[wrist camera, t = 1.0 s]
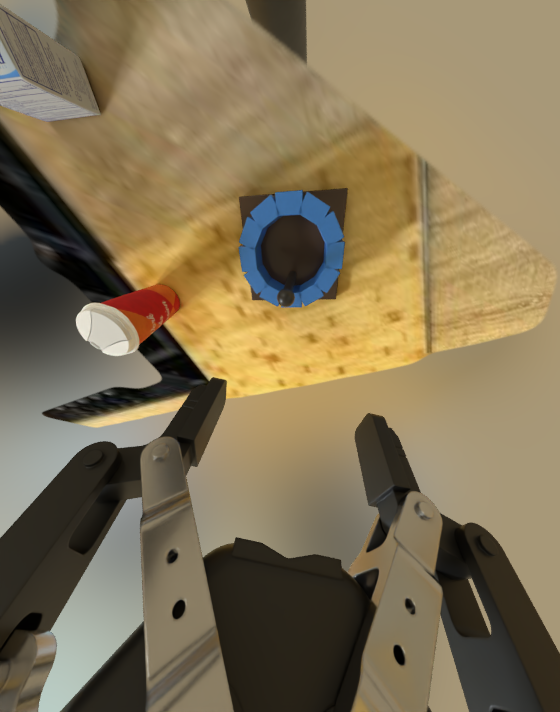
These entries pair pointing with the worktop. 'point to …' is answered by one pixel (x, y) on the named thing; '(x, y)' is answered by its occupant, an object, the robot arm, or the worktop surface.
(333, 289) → the brown peg stand
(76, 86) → the medicine box
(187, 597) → the robot arm
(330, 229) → the blue notched ring
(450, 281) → the worktop surface
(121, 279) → the worktop surface
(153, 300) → the paper cup
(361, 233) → the worktop surface
